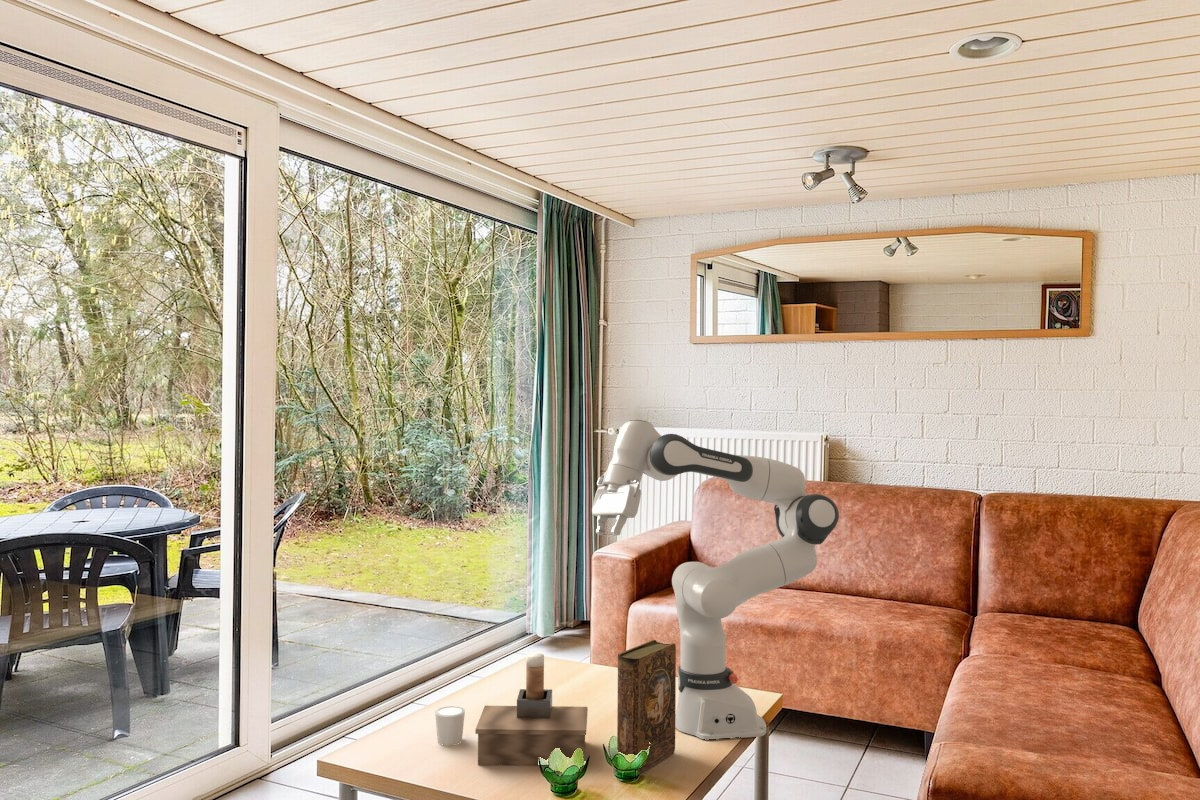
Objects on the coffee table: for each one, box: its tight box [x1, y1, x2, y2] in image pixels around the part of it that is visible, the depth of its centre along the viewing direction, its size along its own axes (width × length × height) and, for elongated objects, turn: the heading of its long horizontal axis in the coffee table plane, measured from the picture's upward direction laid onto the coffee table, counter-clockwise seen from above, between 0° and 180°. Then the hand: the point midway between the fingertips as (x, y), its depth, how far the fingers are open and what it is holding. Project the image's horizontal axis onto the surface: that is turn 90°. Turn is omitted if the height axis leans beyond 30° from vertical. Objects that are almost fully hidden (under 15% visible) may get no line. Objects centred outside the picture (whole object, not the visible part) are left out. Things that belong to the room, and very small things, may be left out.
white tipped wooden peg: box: [525, 652, 545, 699], centre depth 198 cm, size 4×4×13 cm
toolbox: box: [475, 688, 588, 767], centre depth 195 cm, size 24×14×12 cm, turn 90°
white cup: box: [434, 705, 466, 746], centre depth 202 cm, size 7×7×7 cm
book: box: [616, 639, 677, 776], centre depth 190 cm, size 16×6×25 cm, turn 144°
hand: (607, 534), depth 213 cm, fingers open, 8 cm apart
